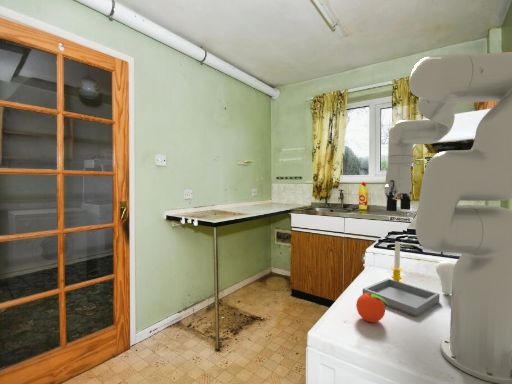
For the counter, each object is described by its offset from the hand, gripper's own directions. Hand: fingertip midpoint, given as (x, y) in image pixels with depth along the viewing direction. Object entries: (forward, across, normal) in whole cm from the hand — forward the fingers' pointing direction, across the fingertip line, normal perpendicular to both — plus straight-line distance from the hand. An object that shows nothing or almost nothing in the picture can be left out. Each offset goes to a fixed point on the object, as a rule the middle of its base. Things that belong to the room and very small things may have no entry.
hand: (398, 210), depth 92 cm
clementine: (+26, +31, +9) cm, 42 cm away
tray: (+26, +12, +7) cm, 30 cm away
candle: (+26, 0, 0) cm, 26 cm away
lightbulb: (+26, -4, +14) cm, 30 cm away
